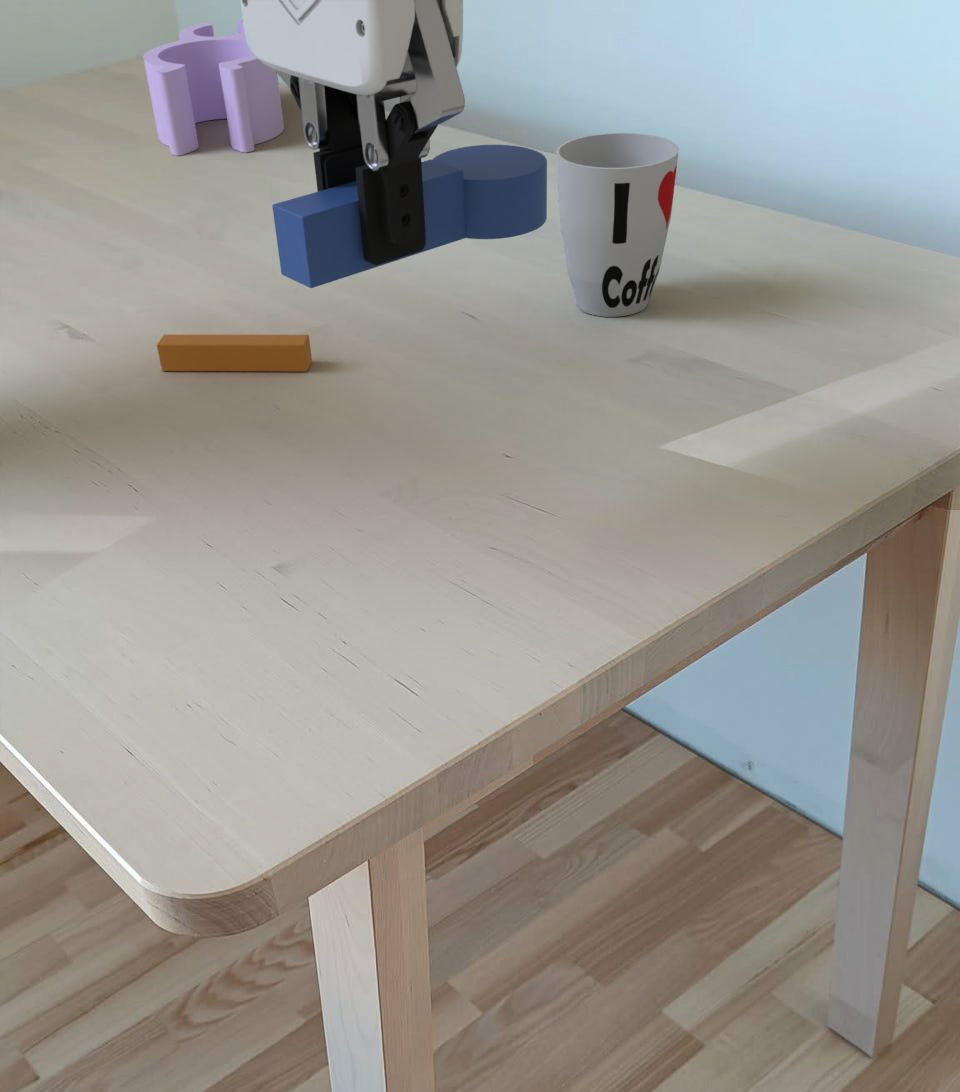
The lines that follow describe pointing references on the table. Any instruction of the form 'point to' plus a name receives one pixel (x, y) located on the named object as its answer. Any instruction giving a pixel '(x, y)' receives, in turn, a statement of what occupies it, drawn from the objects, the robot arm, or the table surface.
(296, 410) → the table surface
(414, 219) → the robot arm
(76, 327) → the table surface
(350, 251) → the spoon
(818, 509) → the table surface
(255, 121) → the clip
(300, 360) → the bar
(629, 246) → the cup
